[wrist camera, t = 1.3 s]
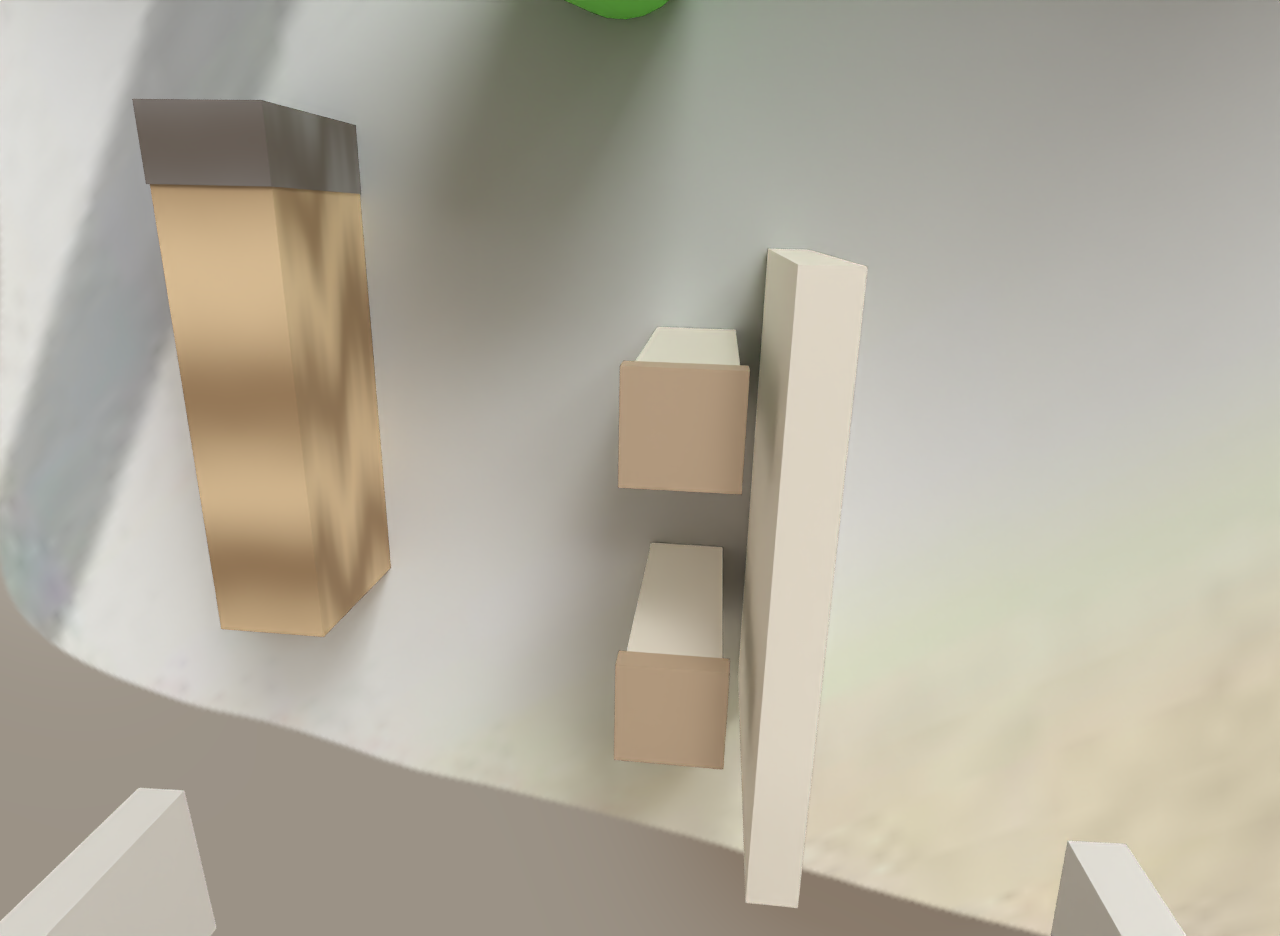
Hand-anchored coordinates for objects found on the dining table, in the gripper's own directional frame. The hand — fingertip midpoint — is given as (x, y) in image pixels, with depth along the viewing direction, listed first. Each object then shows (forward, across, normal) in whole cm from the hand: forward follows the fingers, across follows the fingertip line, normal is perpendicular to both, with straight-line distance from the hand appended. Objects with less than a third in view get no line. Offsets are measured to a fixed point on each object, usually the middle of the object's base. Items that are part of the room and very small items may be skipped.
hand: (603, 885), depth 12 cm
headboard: (+21, +2, 0) cm, 21 cm away
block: (+21, -14, +4) cm, 26 cm away
